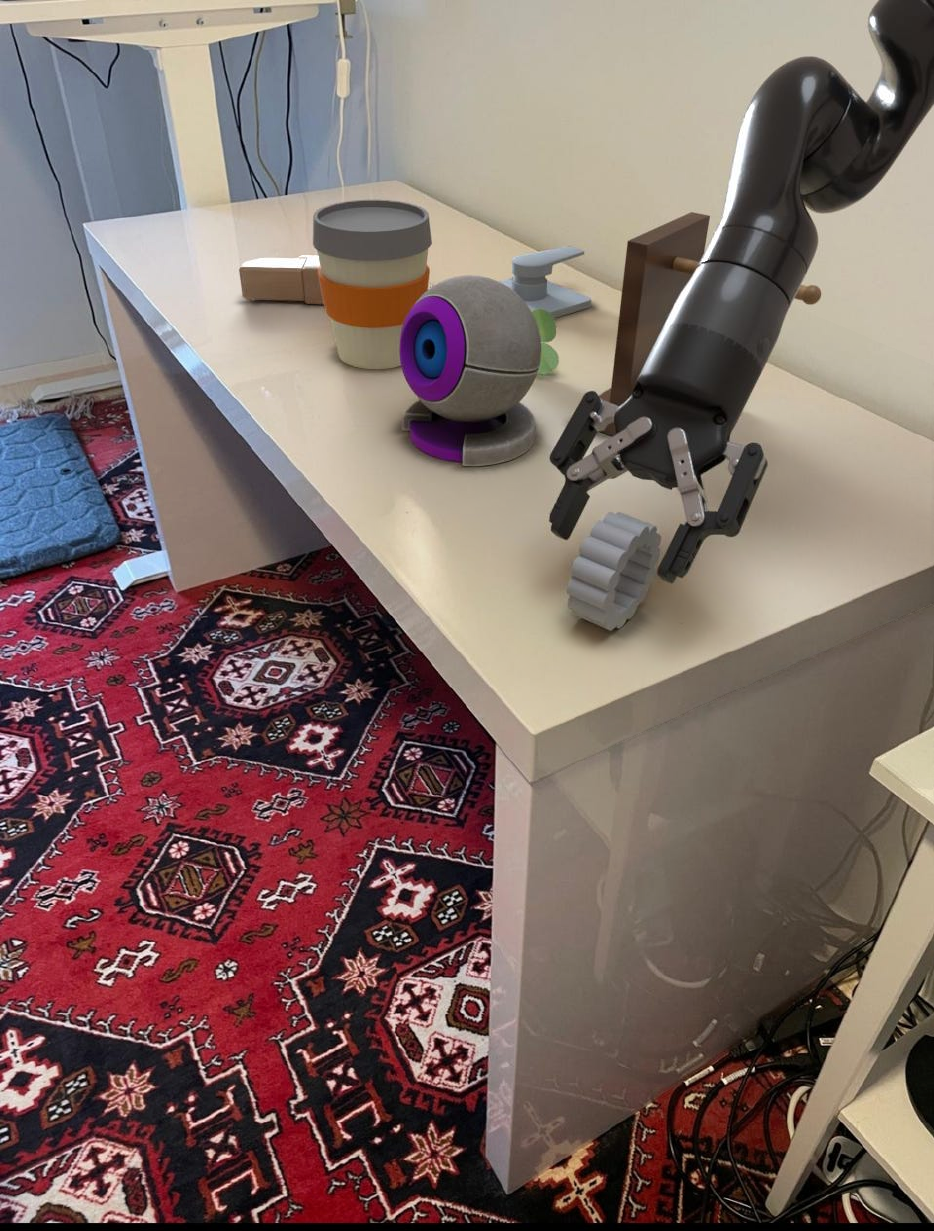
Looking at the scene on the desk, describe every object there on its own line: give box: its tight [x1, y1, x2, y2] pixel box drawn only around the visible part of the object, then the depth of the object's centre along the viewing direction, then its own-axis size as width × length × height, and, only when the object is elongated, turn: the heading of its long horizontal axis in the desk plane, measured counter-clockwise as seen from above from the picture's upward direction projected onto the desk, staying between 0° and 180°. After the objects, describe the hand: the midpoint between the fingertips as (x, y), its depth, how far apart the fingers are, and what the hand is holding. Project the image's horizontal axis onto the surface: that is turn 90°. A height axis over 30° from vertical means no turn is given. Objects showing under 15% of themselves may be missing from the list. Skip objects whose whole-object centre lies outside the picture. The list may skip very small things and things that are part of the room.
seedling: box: [532, 309, 560, 376], centre depth 107 cm, size 7×8×7 cm
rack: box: [598, 211, 822, 437], centre depth 89 cm, size 19×14×18 cm
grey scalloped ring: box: [566, 511, 662, 631], centre depth 68 cm, size 3×8×8 cm, turn 142°
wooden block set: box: [238, 255, 324, 305], centre depth 125 cm, size 17×6×18 cm
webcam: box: [399, 274, 542, 467], centre depth 88 cm, size 13×13×15 cm
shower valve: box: [498, 245, 592, 319], centre depth 121 cm, size 12×6×15 cm
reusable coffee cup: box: [312, 199, 433, 370], centre depth 104 cm, size 13×13×15 cm
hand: (609, 556), depth 66 cm, fingers open, 8 cm apart
